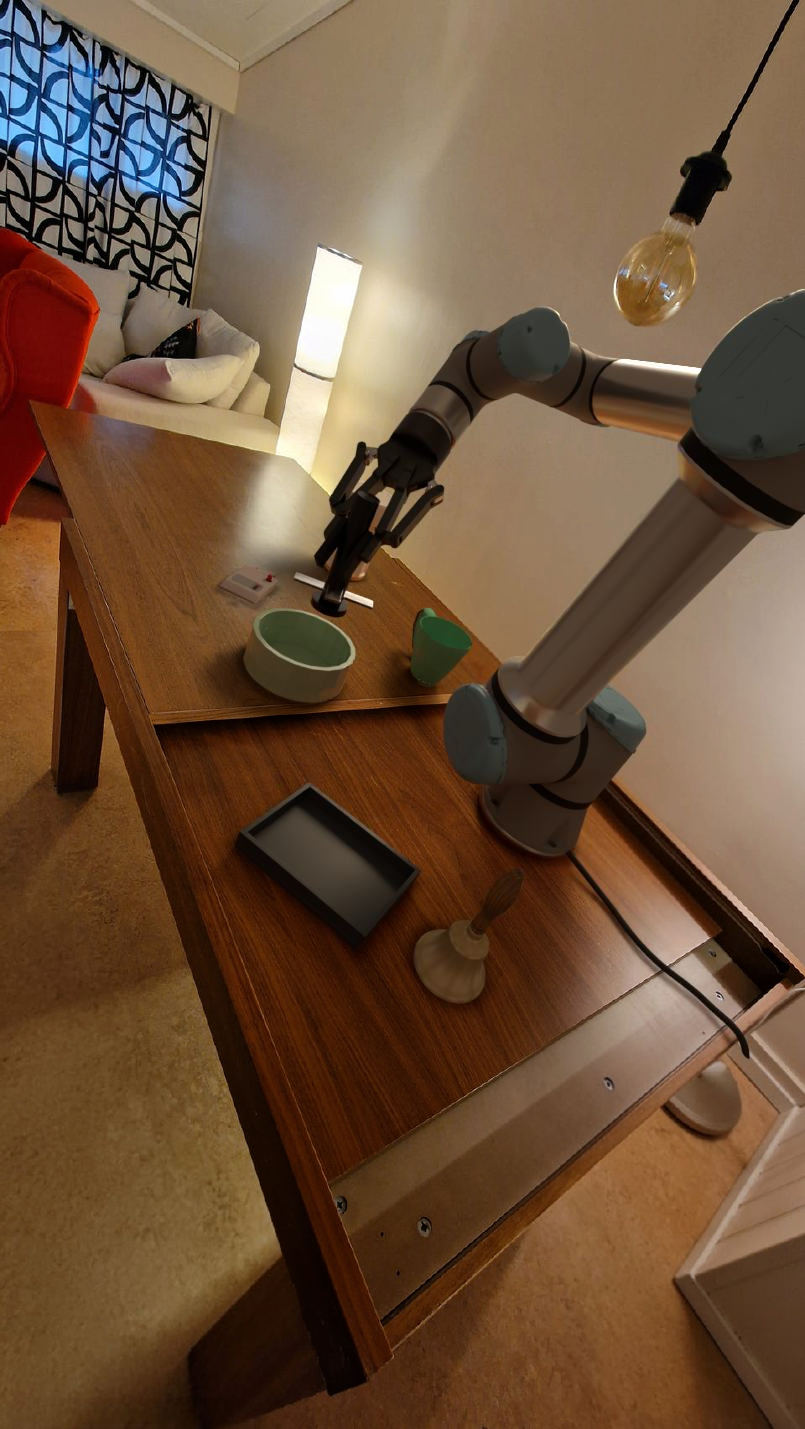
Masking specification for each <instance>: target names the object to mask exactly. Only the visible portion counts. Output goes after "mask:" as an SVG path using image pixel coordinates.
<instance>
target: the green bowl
mask: <svg viewBox="0 0 805 1429" xmlns="http://www.w3.org/2000/svg"><path fill="white" fill-rule="evenodd" d="M355 660H356V647H355V646H354V643H353V641H352V639H351V638H350V637H349V636H348V634H346V633H345V632H344V631H343V630H342V629H341V628H340V627H338V626H337V625H335V624H334V623H333V622H331V621H329V620H327V619H325V618H324V617H321V616H319V615H317V614H314V613H313V612H312V613H311V612H309V611H305V610H302V609H296V608H290V607H274V608H269V609H266V610H263V611H261V612H259V614H257V616H255V617H254V619H253V623H252V625H251V629H250V633H249V636H248V639H247V642H246V647H245V650H244V654H243V657H242V661H243V665H244V667H245V670H246V671H247V673H248V675H249V676H250V677H251V678H252V679H253V681H255V682H256V683H257V684H259V686H261V687H262V688H264V689H265V690H267V691H269V692H271V693H272V694H275V695H276V696H279V697H281V698H284V699H287V700H290V701H295V702H299V703H309V704H311V703H312V704H316V703H317V704H318V703H323V702H327V701H330V700H333V699H334V698H336V697H337V696H338V695H339V694H340V693H341V691H342V690H343V688H344V686H345V683H346V681H347V679H348V676H349V673H351V672H350V671H351V670H352V667H353V664H354V662H355ZM295 699H296V700H295ZM325 699H329V700H325ZM300 700H301V701H300ZM321 700H324V701H321ZM310 701H318V702H310Z"/></svg>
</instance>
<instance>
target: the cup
mask: <svg viewBox="0 0 805 1429" xmlns="http://www.w3.org/2000/svg"><path fill="white" fill-rule="evenodd" d="M365 481H366V480H361V479H360V480H359V481H358V483H357V485H356V486H355V488H354V489H353V491H352V493H351V494H350V496H351V495H352V494H353V493H354V492H355V491H356V490H357V489H358V488H359V487H360V486H361V485H362V484H363V483H364V482H365ZM392 495H393V494H392V493H389V492H388V491H387V490H385V489H384V490H383V491H382V492H379V493H378V494H377V495H376V497H377V498H378V499H379V500H380V504H379V506H378V509H377V511H376V514H375V517H374V519H373V522H372V525H371V527H370V530H369V531H370V532H372V533H373V535H374V533H375V527H377V525H378V523H379V521H380V519H381V517H382V515H383V513H384V511H385V509H386V507H387V505H388V503H389V501H390V499H391V497H392ZM350 496H349V497H350ZM336 550H337V548H336ZM336 550H335V551H334V553H333V554H332V555H331V557H330V558H329V559H328V561H327V562H326V564H325V565H324V566H323V567H325V569H326V570H327V571H329V570H330V567H331V564H332V562H333V559H334V556H335V553H336ZM371 561H372V560H371ZM371 561H370V562H369V563H367V564H366V563H364V562H362V561H361V563H360V564H359V566H358V567H357V568H356V570H355V571H354V573H353V575H352V577H351V580H350V581H352V582H358V581H362V580H363V579H364V577H365V575H366V573H367V571H368V568H369V566H370V564H371Z"/></svg>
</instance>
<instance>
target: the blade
mask: <svg viewBox="0 0 805 1429" xmlns="http://www.w3.org/2000/svg"><path fill="white" fill-rule="evenodd" d="M379 504H380V500H379V499H378V498H377V497H376V496H374V495H372V494H370V493H367V492H364V491H358V492H357V494H356V497H355V500H354V502H353V505H352V508H351V511H350V514H349V517H348V519H347V522H346V525H345V528H344V531H343V533H342V536H341V539H340V542H339V545H338V547H337V550H336V553H335V556H334V559H333V562H332V564H331V567H330V570H328V573H327V576H326V578H325V581H321V580H319V579H317V578H314V577H311V576H308V575H306V574H304V573H301V572H299V571H296V572H295V574H294V576H293V579H292V581H293V582H297V583H299V584H302V585H305V586H307V587H310V588H313V589H316V590H317V591H314V593H312V596H311V598H310V605H311V607H312V608H313V609H314V610H315V611H317V612H318V613H320V614H322V615H324V616H326V617H330V618H335V619H337V618H343V617H344V616H345V615H346V614H347V611H348V609H349V605H348V603H347V602H350V603H353V604H355V605H358V606H361V607H363V608H366V609H368V610H373V608H374V601H373V600H372V599H369V598H367V597H364V596H361V595H359V594H356V593H354V592H351V591H348V588H349V585H350V582H351V581H352V580H351V577H352V575H353V574H352V575H351V577H350V578H349V580H348V581H347V582H346V583H345V582H343V581H341V578H340V574H339V569H340V568H341V567H342V565H343V564H344V562H345V561H346V560H347V558H348V557H349V555H350V554H351V553H352V551H353V550H354V549H355V547H356V546H357V544H358V543H359V542H360V540H361V539H362V537H363V536H364V535H365V533H366V532H367V530H370V527H371V525H372V522H373V519H374V517H375V514H376V511H377V509H378V506H379ZM346 601H347V602H346Z"/></svg>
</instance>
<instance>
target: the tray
mask: <svg viewBox="0 0 805 1429" xmlns="http://www.w3.org/2000/svg"><path fill="white" fill-rule="evenodd" d="M233 847H234V848H235V849H236V850H237V851H238V852H240V854H241V855H243V856H244V857H245V858H247V860H249V861H250V862H251V863H252V864H254V865H255V866H256V867H257V868H258V869H259V870H261V871H262V872H263V873H264V874H265V875H266V876H268V877H269V878H270V879H271V880H273V882H275V883H276V884H277V885H278V886H279V887H280V888H282V889H283V890H284V891H285V892H287V894H289V895H290V896H291V897H292V898H294V899H295V900H296V901H297V902H298V903H299V904H301V905H302V906H303V907H304V908H306V909H307V910H308V911H309V912H310V913H311V914H312V915H314V916H315V917H316V918H317V919H318V920H320V921H321V922H322V923H323V924H324V925H325V926H326V927H327V928H328V929H330V930H331V931H332V932H333V933H335V934H336V935H337V936H338V937H340V939H342V940H343V941H345V943H346V944H347V945H349V946H350V947H351V948H352V949H354V951H356V952H357V951H359V950H360V949H361V947H362V946H363V945H364V943H366V941H367V940H368V939H369V937H370V936H371V935H372V934H373V933H374V932H375V930H376V929H377V928H378V926H379V925H380V924H381V923H382V922H383V921H384V919H386V917H387V916H388V914H390V912H391V911H392V910H393V909H394V907H395V906H396V905H397V904H398V903H399V902H400V900H401V899H402V898H403V897H404V896H405V894H406V893H407V892H408V891H409V890H410V888H411V887H412V886H413V885H414V884H415V882H416V880H417V879H418V877H419V876H420V874H421V873H422V869H421V868H419V867H418V866H417V865H415V864H414V863H413V862H412V861H411V860H409V859H408V858H407V857H406V856H404V855H403V854H402V853H400V852H399V851H398V850H397V849H396V848H394V847H393V846H392V845H390V844H389V843H388V842H386V840H384V839H383V838H382V837H381V836H379V835H377V833H376V832H374V831H372V830H371V829H370V828H368V827H367V826H366V825H365V824H364V823H362V822H361V821H359V820H358V819H357V818H356V817H355V816H354V815H352V814H351V813H350V812H348V811H347V809H346V810H345V808H343V807H342V806H341V805H340V804H338V803H337V802H336V801H335V800H333V799H332V798H330V797H329V796H328V795H326V794H325V793H324V792H323V791H322V790H321V789H319V788H318V787H316V786H315V785H314V784H313V783H311V781H308V782H307V783H305V784H303V785H302V786H301V787H300V788H298V789H296V790H295V791H294V792H293V793H291V794H290V795H288V796H287V797H286V798H284V799H283V800H282V801H280V802H278V803H277V804H276V805H274V806H273V807H272V808H270V809H269V810H268V811H266V812H265V813H263V814H262V815H260V816H259V817H257V818H256V819H254V820H253V821H252V822H251V823H249V824H248V825H247V826H245V827H244V828H242V829H241V830H239V832H238V835H237V838H236V841H235V843H234V845H233Z"/></svg>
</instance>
